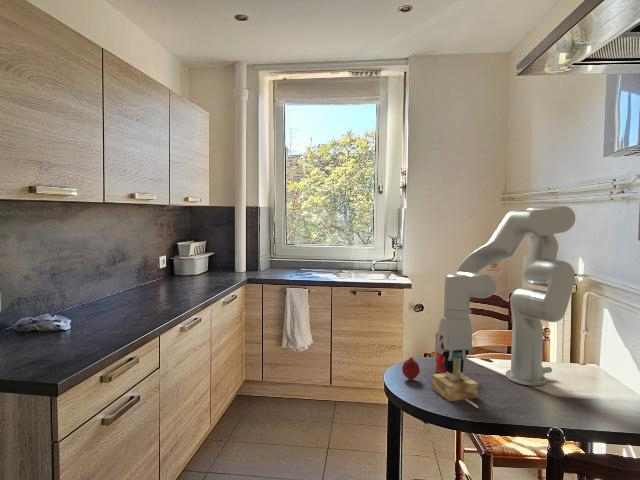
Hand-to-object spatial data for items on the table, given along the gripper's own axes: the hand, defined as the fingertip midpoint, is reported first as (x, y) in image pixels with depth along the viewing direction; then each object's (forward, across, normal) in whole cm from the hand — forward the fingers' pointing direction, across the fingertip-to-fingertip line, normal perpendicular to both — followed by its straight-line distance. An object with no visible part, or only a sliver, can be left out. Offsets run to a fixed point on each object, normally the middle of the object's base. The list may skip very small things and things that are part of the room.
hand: (453, 370), depth 131 cm
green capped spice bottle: (+5, 0, 0) cm, 5 cm away
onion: (+7, +8, -13) cm, 17 cm away
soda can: (+7, -8, -16) cm, 19 cm away
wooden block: (+7, 0, 0) cm, 7 cm away
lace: (+7, 0, +8) cm, 11 cm away
